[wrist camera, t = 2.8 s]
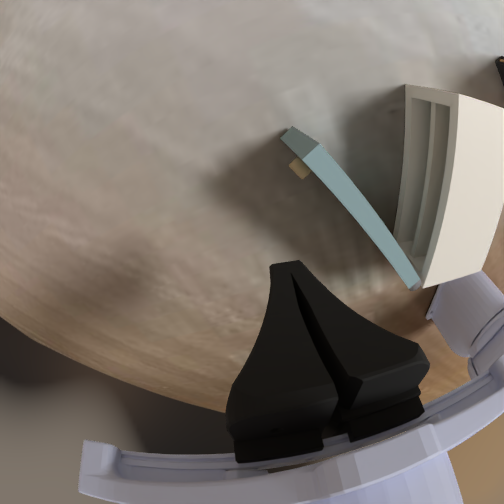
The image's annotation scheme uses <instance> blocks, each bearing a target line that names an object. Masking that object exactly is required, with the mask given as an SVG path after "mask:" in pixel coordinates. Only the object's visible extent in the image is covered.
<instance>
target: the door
mask: <svg viewBox="0 0 504 504" xmlns="http://www.w3.org/2000/svg"><path fill="white" fill-rule="evenodd" d="M280 139H281V140H282V141H283V142H284V143H285V144H286V145H287V146H288V147H289V148H290V149H291V150H292V151H293V152H294V153H295V154H296V155H297V156H298V157H297V158H295V159H294V160H293V161H292V162H291V163H290V164H289V165H288V166H289V167H290V168H291V169H292V170H293V171H294V172H295V173H296V174H297V175H298V176H299V177H300V178H301V179H302V180H303V179H304V178H305V177H306V176H307V175H308V174H309V173H311V172H312V171H313V172H314V173H315V175H316V176H317V177H318V178H319V179H320V180H321V181H322V182H323V183H324V184H325V185H326V186H327V188H328V189H329V190H330V191H331V192H332V193H333V194H334V195H335V196H336V198H337V199H338V200H339V201H340V202H341V203H342V204H343V206H344V207H345V208H346V209H347V210H348V211H349V213H350V214H351V215H352V216H353V217H354V218H355V220H356V221H357V222H358V223H359V224H360V226H361V227H362V228H363V229H364V231H365V232H366V233H367V234H368V236H369V237H370V238H371V239H372V241H373V242H374V243H375V244H376V246H377V247H378V248H379V249H380V251H381V252H382V253H383V255H384V256H385V257H386V258H387V260H388V261H389V262H390V264H391V265H392V266H393V268H394V269H395V270H396V272H397V273H398V274H399V276H400V277H401V278H402V280H403V281H404V283H405V284H406V285H407V287H408V288H409V290H410V291H415V290H416V289H418V288H419V287H420V285H421V280H420V278H419V276H418V275H417V273H416V271H415V270H414V268H413V266H412V265H411V263H410V262H409V260H408V258H407V257H406V255H405V254H404V252H403V251H402V249H401V248H400V246H399V245H398V243H397V242H396V240H395V239H394V237H393V236H392V234H391V233H390V231H389V230H388V229H387V227H386V226H385V224H384V223H383V222H382V220H381V219H380V217H379V216H378V215H377V213H376V212H375V211H374V209H373V208H372V206H371V205H370V204H369V203H368V201H367V200H366V199H365V197H364V196H363V195H362V193H361V192H360V191H359V190H358V188H357V187H356V186H355V185H354V183H353V182H352V181H351V180H350V178H349V177H348V176H347V175H346V173H345V172H344V171H343V170H342V169H341V167H340V166H339V165H338V164H337V163H336V162H335V160H334V159H333V158H332V157H331V156H330V155H329V153H328V152H327V151H326V150H325V149H324V148H323V147H322V146H321V144H320V143H318V142H317V141H315V140H313V139H312V138H310V137H309V136H307V135H306V134H304V133H302V132H301V131H299V130H298V129H296V128H294V127H293V126H292V127H291V128H290V129H289V130H288V131H287V132H286V133H285V134H284V135H283V136H282V137H281V138H280Z"/></svg>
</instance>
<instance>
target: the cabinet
mask: <svg viewBox="0 0 504 504" xmlns="http://www.w3.org/2000/svg"><path fill="white" fill-rule="evenodd" d="M503 203H504V108H501V107H498V106H496V105H493V104H490V103H487V102H484V101H481V100H478V99H475V98H472V97H468V96H465V95H462V94H458V93H453V92H449V91H444V90H439V89H433V88H428V87H421V86H415V85H407V84H405V138H404V153H403V166H402V176H401V185H400V193H399V200H398V207H397V214H396V220H395V226H394V232H393V237H394V239H395V240H396V242H397V243H398V245H399V246H400V248H401V249H402V251H403V252H404V254H405V255H406V257H407V258H408V260H409V262H410V263H411V265H412V266H413V268H414V270H415V271H416V273H417V275H418V276H419V278H420V280H421V287H422V288H426V287H430V286H434V285H437V284H441V283H444V282H447V281H451V280H454V279H457V278H460V277H464V276H467V275H470V274H473V273H476V272H479V271H481V269H482V267H483V264H484V262H485V259H486V256H487V254H488V251H489V248H490V245H491V243H492V240H493V237H494V234H495V231H496V227H497V224H498V221H499V217H500V214H501V210H502V207H503Z"/></svg>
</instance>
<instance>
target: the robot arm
mask: <svg viewBox="0 0 504 504" xmlns="http://www.w3.org/2000/svg"><path fill="white" fill-rule="evenodd" d="M269 268H270V280H271V286H270V294H269V300H268V305H267V309H266V313H265V317H264V320H263V324H262V327H261V330H260V332H259V335H258V337H257V340H256V343H255V345H254V347H253V349H252V351H251V353H250V355H249V357H248V359H247V361H246V363H245V365H244V367H243V369H242V370H241V372H240V373H239V375H238V377H237V378H236V380H235V381H234V383H233V384H232V387H231V391H230V394H229V398H228V401H227V406H226V415H225V417H226V428H227V431H228V433H229V434H230V436H231V437H232V439H233V440H234V451H235V453H231V454H211V455H171V454H152V453H140V452H131V451H122V450H120V449H119V448H117V447H116V446H114V445H111V444H107V443H103V442H97V441H91V440H84V443H83V450H82V457H81V465H80V475H79V486H78V487H79V488H78V491H79V492H80V493H82V494H86V495H89V496H93V497H96V498H99V499H103V500H107V501H111V502H115V503H119V504H464V503H463V500H462V496H461V493H460V490H459V486H458V483H457V480H456V477H455V474H454V471H453V468H452V465H451V462H450V459H449V456H448V454H447V451H449V450H451V449H452V448H454V447H456V446H457V445H459V444H460V443H462V442H463V441H465V440H467V439H468V438H470V437H471V436H473V435H474V434H475V433H477V432H478V431H480V430H481V429H482V428H484V427H485V426H487V425H488V424H489V423H491V422H492V421H494V420H495V419H496V418H497V417H499V416H500V415H501V414H502V413H504V295H503V294H502V293H501V291H500V290H499V289H498V288H497V287H496V286H495V284H494V283H493V282H492V281H491V280H490V279H489V278H488V276H487V275H486V274H485V273H484V272H483V271H482V270H481V271H479V272H476V273H473V274H470V275H467V276H464V277H460V278H457V279H454V280H451V281H447V282H444V283H441V284H439V286H438V288H437V291H436V293H435V296H434V298H433V301H432V303H431V305H430V308H429V310H428V312H427V314H426V319H427V320H428V319H431V318H432V320H433V322H434V323H435V325H436V326H437V328H438V329H439V331H440V332H441V334H442V336H443V337H444V339H445V341H446V342H447V344H448V345H449V347H450V348H451V350H452V351H453V352H454V353H456V354H457V355H459V356H461V357H469V359H468V373H469V376H470V378H471V381H469V382H467V383H465V384H464V385H462V386H460V387H458V388H456V389H455V390H453V391H451V392H449V393H447V394H445V395H443V396H441V397H439V398H437V399H435V400H433V401H431V402H429V403H427V404H424V405H422V403H421V401H420V398H419V395H420V394H421V391H420V389H419V387H418V385H419V383H420V382H421V381H422V379H423V378H424V377H425V375H426V374H427V372H428V370H429V367H430V363H429V361H428V359H427V357H426V355H425V354H424V352H423V350H422V349H421V347H420V346H419V344H418V343H415V342H413V341H410V340H408V339H405V338H402V337H400V336H397V335H395V334H393V333H391V332H389V331H387V330H385V329H383V328H381V327H379V326H377V325H375V324H374V323H372V322H370V321H369V320H367V319H365V318H364V317H362V316H360V315H359V314H357V313H356V312H355V311H353V310H352V309H351V308H349V307H348V306H347V305H345V304H344V303H343V302H342V301H340V300H339V299H338V298H337V297H336V296H335V295H333V294H332V293H331V292H330V291H329V290H328V289H327V288H326V287H325V286H324V285H323V284H322V283H321V282H320V281H319V280H318V279H317V278H316V277H315V276H314V275H313V274H312V273H311V272H310V271H309V270H308V269H307V268H306V266H305V265H304V264H303V263H302V262H301V261H300V260H296V261H290V262H283V263H276V264H272V265H271V266H270V267H269ZM405 431H406V432H405ZM402 432H404V433H402ZM400 433H402V434H400ZM398 434H399V435H398ZM395 435H397V436H395ZM393 436H394V437H393ZM390 437H392V438H390ZM388 438H390V439H388ZM385 439H387V440H385ZM382 440H384V441H382ZM379 441H382V442H379ZM377 442H379V443H377ZM374 443H376V444H374ZM371 444H373V445H371ZM368 445H370V446H368ZM365 446H367V447H365ZM362 447H364V448H362ZM359 448H361V449H359ZM356 449H358V450H356ZM352 450H355V451H352ZM349 451H351V452H349ZM346 452H348V453H346ZM342 453H345V454H342ZM338 454H342V455H339V456H336V457H334V458H331V459H328V460H326V461H323V462H319V463H316V464H312V465H308V466H304V467H300V468H296V469H292V470H287V471H283V472H277V473H272V474H268V471H267V470H261V469H268V468H275V467H282V466H289V465H294V464H300V463H305V462H309V461H314V460H318V459H323V458H326V457H331V456H334V455H338Z"/></svg>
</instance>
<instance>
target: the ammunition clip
mask: <svg viewBox="0 0 504 504" xmlns="http://www.w3.org/2000/svg"><path fill="white" fill-rule="evenodd" d="M496 66H497V68H498V71H499V73H500V76H501V79H502V82H503V85H504V56H501V57H500V58H499V59H498V60H497V61H496Z"/></svg>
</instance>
